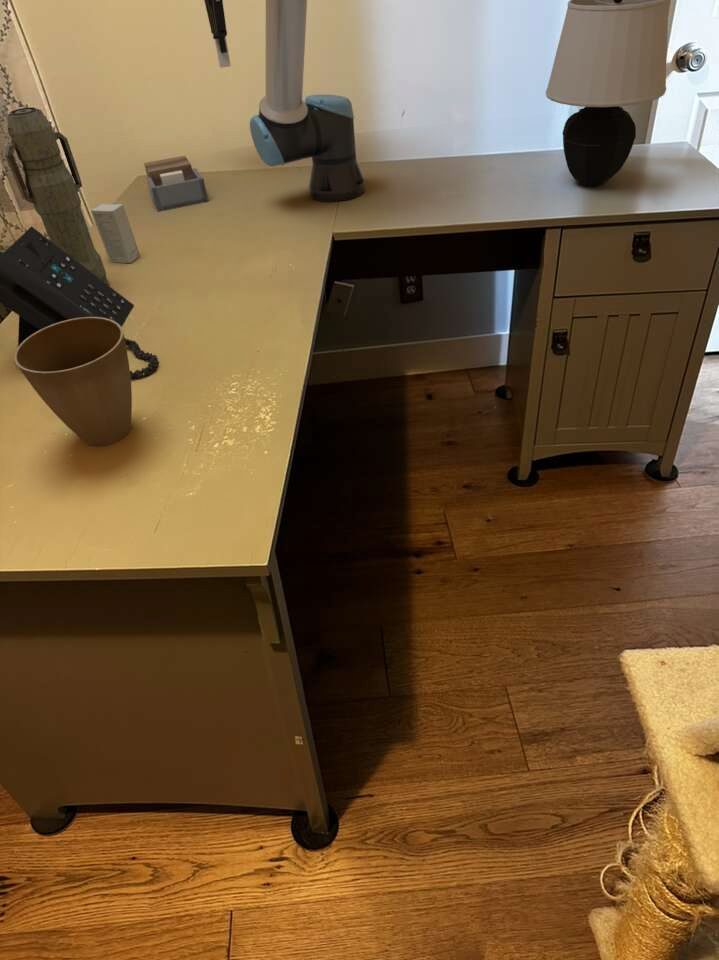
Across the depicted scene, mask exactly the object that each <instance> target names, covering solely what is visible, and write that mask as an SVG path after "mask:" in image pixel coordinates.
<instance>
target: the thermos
mask: <svg viewBox="0 0 719 960" xmlns="http://www.w3.org/2000/svg"><path fill="white" fill-rule="evenodd" d="M6 121H7V131H8V134H9V138H10V139H11V141H10V142H11V143H9V144H7V145H6V147H5V152H4V156H5V158H6V160H7V164H8V166H9V168H10V170H11V173H12V175H13V177H14V178H13V179H14V181H15V183H16V185H17V188H18V190H19V193H20V195H21V198H22V199H23V200H24V201H26V202H28V203H31V204H32V205H33V208H34V210H35V212H36V213H37V214H38V215H39V217H40V218H41V221H42V224H43V226H44V229H45V231H46V233H47V236H48V239H49V240H50V241H51V242H53V243H54V244H55V245H56V246H58V247H59V248H60V249H62V250H63V251H64V252H66V253H67V254H68V255H69V256H71V257H72V258H73V259H75V260H76V261H77V262H79V263H80V264H81V265H82V266H84V267H85V268H86V269H88V270H89V271H90V272H92V273H93V274H94V275H95V276H97V277H98V278H99V279H101V280H102V281H103V282H105V283H106V284H107V285H108V286H110V283H109V281H108V278H107V271H106V269H105V266H104V263H103V259H102V257H101V255H100V254H99V252H98V251H97V250H96V248H95V246H94V243H93V239H92V237H91V233H90V230H89V228H88V225H87V223H86V222H87V221H86V220H85V217H84V213H83V211H82V208H81V207H82V205H81V204H82V201H81V198H80V195H79V193H80V189H81V188H83V184H82V179H81V176H80V174H79V173H80V172H79V170H78V167H77V164H76V161H75V158H74V155H73V151H72V148H71V147H70V143H69V141H68V140H69V139H68V138H67V137H66V136H65V135H64V134H62V133H61V132H59V131H54V130H53V127H52V124H51V123H50V121H49V120H48V118H47V117H46V115H45V114H44V112H43V110H42V109H40V108H37V107H33V106H32V107H22V108H17V109H14V110H11V111H10V112H9V114H7V115H6ZM57 141H59V142H60V145H61V147H62V150H63V153H64V155H65V158H66V162H67V165H68V167H69V169H68V168H67V166H66V164H65V162H64V159H62V156H61V150H60V147H59V144H58V142H57ZM14 151H15V152H16V156H17V158H18V160H19V161H20V163H21V165H22V171H23V173H24V178H23V176H22V174H21V171H20V169H19V167H18V164H17V161H16V159H15V156H14Z"/></svg>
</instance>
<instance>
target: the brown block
mask: <svg viewBox="0 0 719 960" xmlns="http://www.w3.org/2000/svg"><path fill="white" fill-rule="evenodd" d="M143 165H144V169H145V173H146V175H147V177H151V179H152V181H153V183H154V185H155V187H156V186H161V185H162V181H161V178H160V174H164V173H170V172H175V171H180V170H181V171H182V172H183V176H184V180H185V181H187V180H192V179H194V177H193V172H192V169H193V167H192V163H191V162H190V161H189V159H188V158H187V156H186V155H181V156H177V157H176V156H175V157H171V158H165V159H160V160H154V161H153V160H152V161H148V162H143ZM147 177H146V178H147Z"/></svg>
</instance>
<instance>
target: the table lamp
mask: <svg viewBox="0 0 719 960" xmlns="http://www.w3.org/2000/svg"><path fill="white" fill-rule="evenodd" d="M669 5H670V0H568V2H567V8H566V11H565V12H566V13H565V18H564V21H563V24H562V25H563V26H562V29H561V33H560V37H559V41H558V44H557V49H556V52H555V56H554V59H553V60H554V61H553V65H552V68H551V72H550V76H549V80H548V84H547V88H546V90H545V96H546V98H547V99H548V100H550V101H552V102H553V103H558V104H562V105H567V106H574V107H582V108H579V110H578V111H577V112H574V113H572V115H570V116H568V117H567V119H566V121H565V123H564V126H563V130H562V144H563V153H564V157H565V163H566V167H567V169H568V171H569V174H570V175H571V176H572V178H573V179H574V180H575V181H576V182H577V183H578V184H580V185H584V186H588V187H589V186H599V185H602V184H605V183H606V182H607V181H609V180H610V179H612V178H613V177H614V176H615V175H616V174H617V173H619V171H620V170H621V169H622V168H623V167H624V164H625V163H626V161H627V159H628V158H629V155H630V153H631V151H632V148H633V145H634V143H635V139H636V136H637V134H636V133H637V130H636V129H637V128H636V124H635V122H634V120H633V118H632V116H631V115H630V113H629V112H627V111H626V110H624V108H623V107H627V106H635V105H640V104H644V103H645V104H646V103H649V102H653V101H656V100H658V99H660V98H662V97H663V96H664V95H665V94H666V91H667V84H666V83H667V78H666V77H667V55H668V30H669V24H668V23H669ZM583 107H584V108H583Z"/></svg>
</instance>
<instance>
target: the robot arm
mask: <svg viewBox="0 0 719 960" xmlns="http://www.w3.org/2000/svg"><path fill="white" fill-rule="evenodd" d="M204 4H205V10H206V13H207V17H208V18H207V19H208V23H209V27H210V33H211V34H212V35H213V36H212V38H213V40H214V43H215V47H216V48H215V49H216V54H217V59H218V65H219V68H220V69H221V68H222V69H223V68H229V67H231V66H232V65H231V60H230V55H229V49H228V43H227V38H226V37H227V36H228V31H227V23H226V16H225V9H224V2H223V0H204ZM307 9H308V0H265V96H263V97H262V98H261V100H260V101H259V104H258V115H257V114H254V115H253V116H252V117H251V118H250V120H249V130H250V135H251V139H252V142H253V145H254V147H255V149H256V152H257V154H258V156H259V157H260V159H261V160H262V162H263V163H264V164H265V165H267V166H268V167H277V166H284V165H285V164H289V163H294V162H297V161H302V160H306V159H309V158H311V162H312V167H311V171H310V178H309V183H308V193H309V196H310V198H311V199H313V200H315V201H321V202H341V201H342V202H343V201H347V200H352V199H355V198H358V197H359V195H360V196H362V195H363V194H364V193H365V191H366V184H365V179H364V177H363V174H362V171H361V168H360V165H359V163H358V160H357V151H356V150H357V149H356V148H357V147H356V138H355V135H356V134H355V123H354V119H355V117H354V111H353V105H352V102H351V100H350V99H349V98H347V97H346V96H341V95H336V94H311V95H308V96H306V97H305V98H304V100H303V91H304V90H303V89H304V69H305V53H306V52H305V49H306V33H307V32H306V29H307V27H306V26H307V12H308V11H307ZM363 192H364V193H363ZM362 193H363V194H362Z"/></svg>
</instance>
